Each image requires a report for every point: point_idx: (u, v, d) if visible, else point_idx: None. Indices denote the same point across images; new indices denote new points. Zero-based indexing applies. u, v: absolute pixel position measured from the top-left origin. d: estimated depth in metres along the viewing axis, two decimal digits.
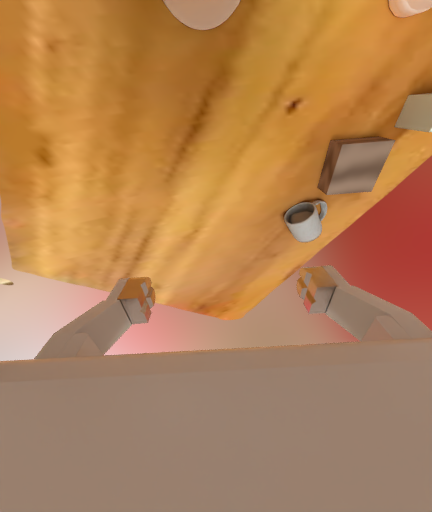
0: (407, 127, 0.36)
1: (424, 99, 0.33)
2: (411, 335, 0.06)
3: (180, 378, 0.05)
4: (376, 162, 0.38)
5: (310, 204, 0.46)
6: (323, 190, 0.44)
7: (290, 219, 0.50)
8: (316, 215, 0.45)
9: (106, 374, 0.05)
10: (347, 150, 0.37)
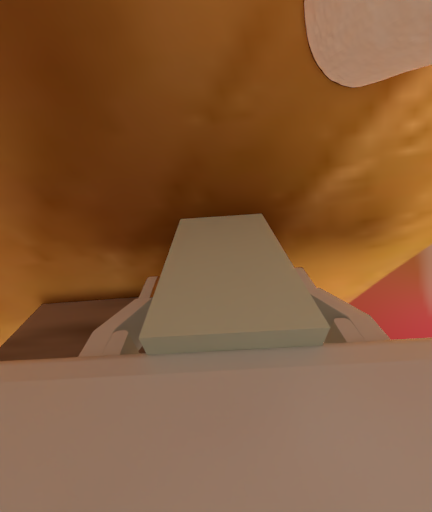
0: None
1: None
2: (365, 338, 0.06)
3: (180, 378, 0.05)
4: None
5: None
6: None
7: None
8: None
9: (106, 374, 0.05)
10: None
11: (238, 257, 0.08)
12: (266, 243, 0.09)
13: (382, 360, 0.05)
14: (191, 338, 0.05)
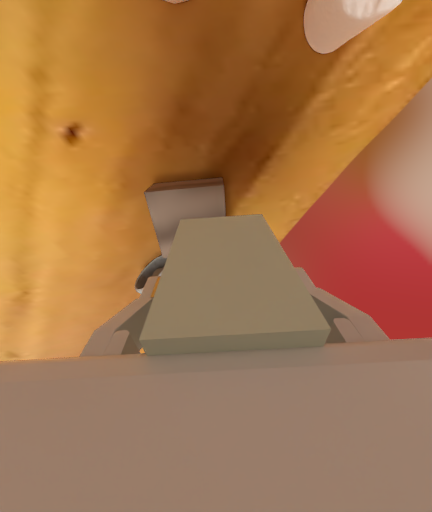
0: None
1: None
2: (364, 338, 0.06)
3: (180, 378, 0.05)
4: (211, 215, 0.25)
5: None
6: None
7: None
8: None
9: (106, 374, 0.05)
10: (157, 200, 0.24)
11: (238, 258, 0.08)
12: (266, 244, 0.08)
13: (382, 360, 0.05)
14: (191, 339, 0.05)
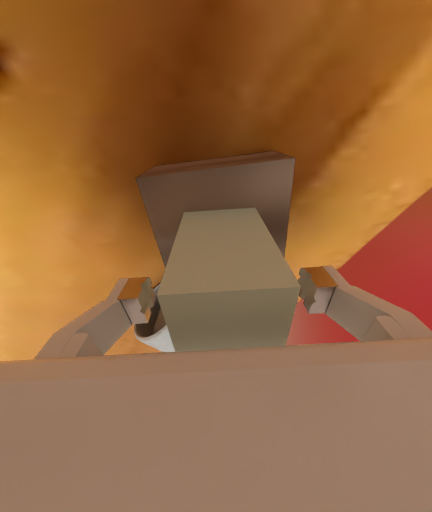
0: None
1: None
2: (411, 335, 0.06)
3: (180, 378, 0.05)
4: (263, 218, 0.14)
5: None
6: None
7: None
8: None
9: (106, 374, 0.05)
10: (161, 193, 0.12)
11: (233, 240, 0.09)
12: (257, 230, 0.10)
13: (382, 360, 0.05)
14: (196, 295, 0.07)
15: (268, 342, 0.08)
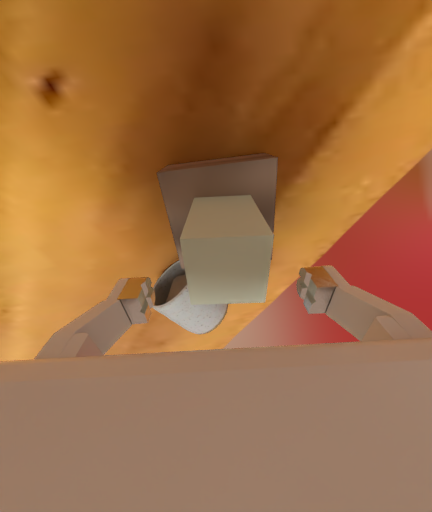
0: None
1: None
2: (411, 335, 0.06)
3: (180, 378, 0.05)
4: None
5: None
6: None
7: None
8: None
9: (106, 374, 0.05)
10: (176, 184, 0.16)
11: (231, 213, 0.13)
12: (250, 208, 0.14)
13: (382, 360, 0.05)
14: (205, 240, 0.10)
15: (254, 283, 0.12)
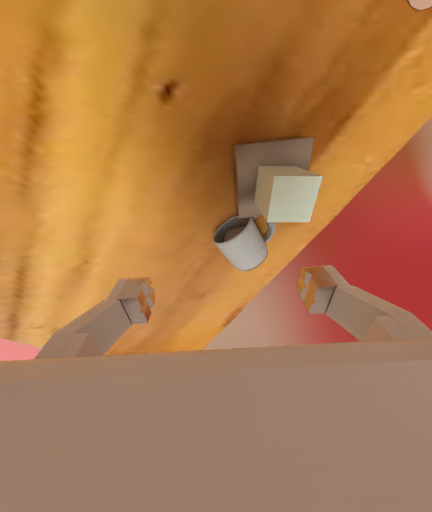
0: (258, 207, 0.26)
1: (264, 175, 0.23)
2: (411, 335, 0.06)
3: (180, 378, 0.05)
4: None
5: None
6: (237, 212, 0.31)
7: (224, 237, 0.35)
8: (253, 232, 0.30)
9: (106, 374, 0.05)
10: (247, 154, 0.25)
11: (291, 170, 0.22)
12: (300, 169, 0.23)
13: (382, 360, 0.05)
14: (287, 177, 0.19)
15: (306, 207, 0.21)
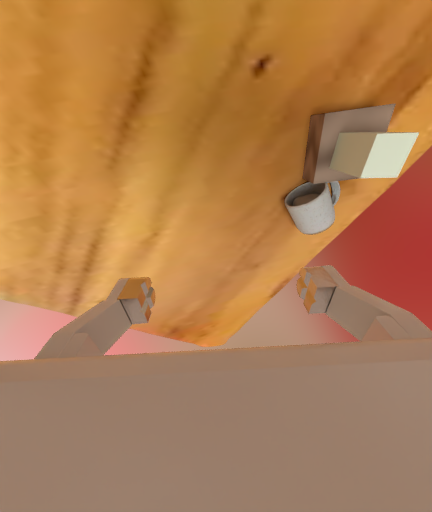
0: (340, 169, 0.29)
1: (353, 138, 0.26)
2: (411, 335, 0.06)
3: (180, 378, 0.05)
4: None
5: None
6: (309, 179, 0.34)
7: (292, 204, 0.38)
8: (329, 195, 0.33)
9: (106, 374, 0.05)
10: (333, 121, 0.28)
11: (381, 132, 0.25)
12: None
13: (382, 360, 0.05)
14: (388, 134, 0.22)
15: (398, 163, 0.24)
